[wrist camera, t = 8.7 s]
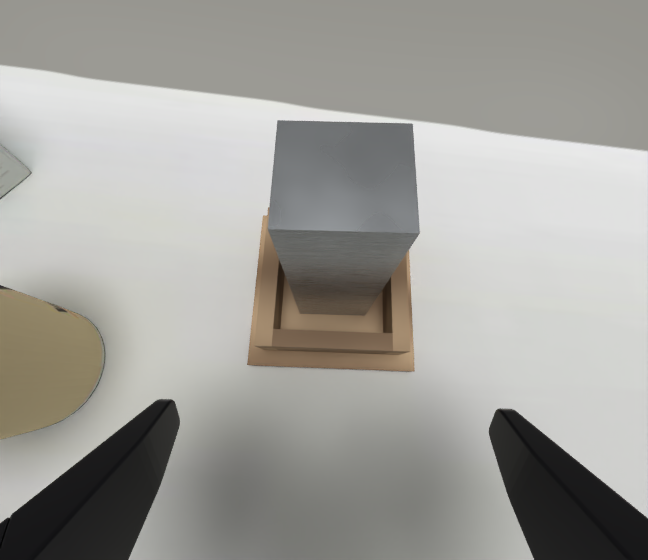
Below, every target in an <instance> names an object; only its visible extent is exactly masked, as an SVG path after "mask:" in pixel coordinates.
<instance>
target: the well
mask: <svg viewBox="0 0 648 560" xmlns="http://www.w3.org/2000/svg"><path fill="white" fill-rule="evenodd" d="M269 208H270V207H268V215H267V216H263V221H262V230H261V240H260V249H259V259H258V268H257V278H256V287H255V297H254V306H253V316H252V325H251V335H250V344H249V354H248V363H247V365H259V366H285V367H311V368H337V369H363V370H389V371H414V349H413V328H412V306H411V284H410V262H409V250H408V252H407V253H406V255H405V256H404V258H403V259H402V261H401V262H400V264H399V265H398V267H397V268H396V270H395V271H394V273H393V274H392V276H391V277H390V279H389V280H388V282H387V283H386V285H385V286H384V288H383V289H382V291H381V292H380V294H379V295H378V297H377V298H376V300H375V301H374V303H373V305H372V306H371V308H370V309H369V311H368V312H367V314H366V315H365V316H361V315H328V314H300V312H299V310H298V307H297V304H296V302H295V299H294V297H293V294H292V291H291V289H290V286H289V284H288V281H287V278H286V276H285V273H284V271H283V268H282V265H281V263H280V260H279V258H278V255H277V252H276V250H275V247H274V245H273V242H272V239H271V237H270V234H269V231H268V219H269Z"/></svg>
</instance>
